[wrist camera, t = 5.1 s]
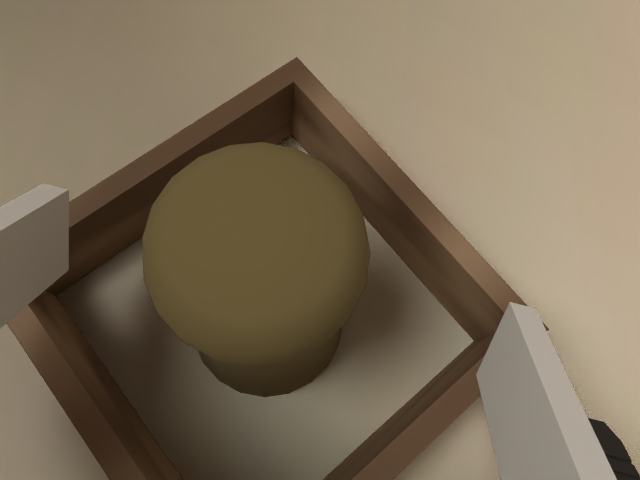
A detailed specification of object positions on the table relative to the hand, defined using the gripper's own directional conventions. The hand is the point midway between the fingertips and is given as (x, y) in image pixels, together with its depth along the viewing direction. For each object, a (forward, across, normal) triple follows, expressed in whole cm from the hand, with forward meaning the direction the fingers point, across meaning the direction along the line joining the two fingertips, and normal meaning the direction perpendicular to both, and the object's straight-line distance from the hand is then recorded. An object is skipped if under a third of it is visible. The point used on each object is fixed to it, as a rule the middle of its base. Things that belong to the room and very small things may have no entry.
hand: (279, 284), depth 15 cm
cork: (+4, 0, -4) cm, 6 cm away
